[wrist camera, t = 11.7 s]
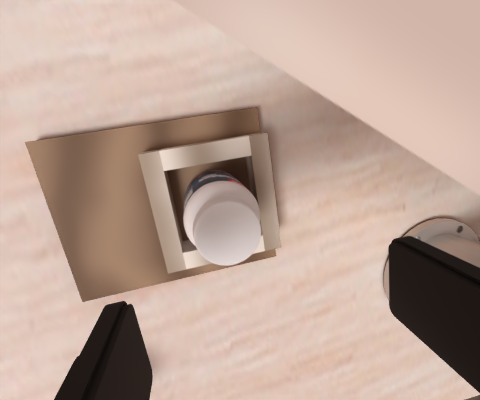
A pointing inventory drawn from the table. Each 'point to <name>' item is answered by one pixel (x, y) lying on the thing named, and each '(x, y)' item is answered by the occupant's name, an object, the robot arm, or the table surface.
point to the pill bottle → (221, 218)
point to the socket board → (147, 196)
